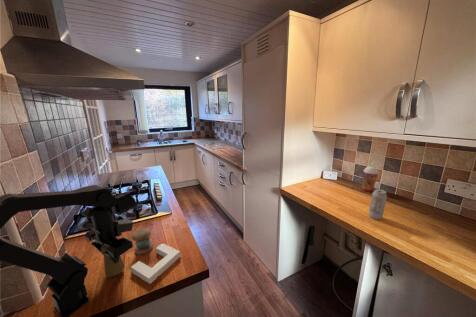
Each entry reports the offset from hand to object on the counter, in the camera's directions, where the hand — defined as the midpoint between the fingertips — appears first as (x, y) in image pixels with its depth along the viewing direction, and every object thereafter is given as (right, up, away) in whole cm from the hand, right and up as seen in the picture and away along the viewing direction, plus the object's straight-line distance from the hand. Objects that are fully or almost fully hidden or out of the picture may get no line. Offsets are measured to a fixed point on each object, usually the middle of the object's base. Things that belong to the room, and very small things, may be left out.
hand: (112, 260), depth 68 cm
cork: (0, -4, +1) cm, 4 cm away
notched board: (+14, -4, +5) cm, 15 cm away
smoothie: (+134, +14, +65) cm, 150 cm away
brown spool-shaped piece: (+5, -2, +13) cm, 14 cm away
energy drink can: (+117, +5, +33) cm, 122 cm away
